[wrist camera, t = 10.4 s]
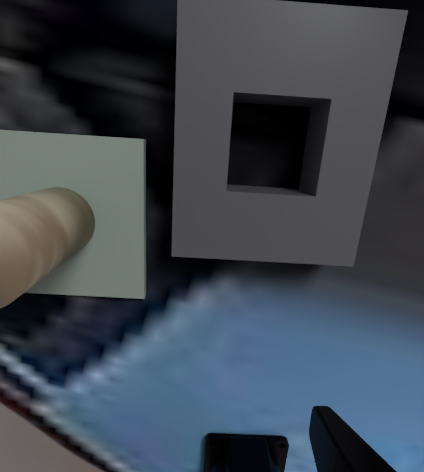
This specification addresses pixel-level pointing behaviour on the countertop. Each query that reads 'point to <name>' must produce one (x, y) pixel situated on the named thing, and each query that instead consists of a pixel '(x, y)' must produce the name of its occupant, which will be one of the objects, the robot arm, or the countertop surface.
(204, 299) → the countertop surface
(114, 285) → the mat
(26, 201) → the plug
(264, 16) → the grey square frame
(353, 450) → the robot arm
